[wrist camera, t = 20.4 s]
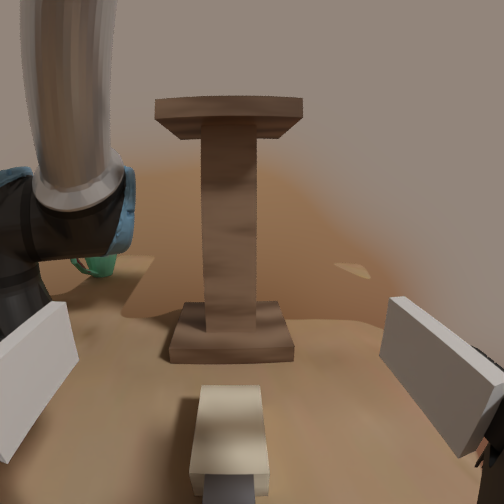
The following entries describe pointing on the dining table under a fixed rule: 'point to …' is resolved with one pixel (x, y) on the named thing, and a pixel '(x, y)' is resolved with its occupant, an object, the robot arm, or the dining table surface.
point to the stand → (229, 229)
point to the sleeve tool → (229, 446)
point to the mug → (97, 265)
